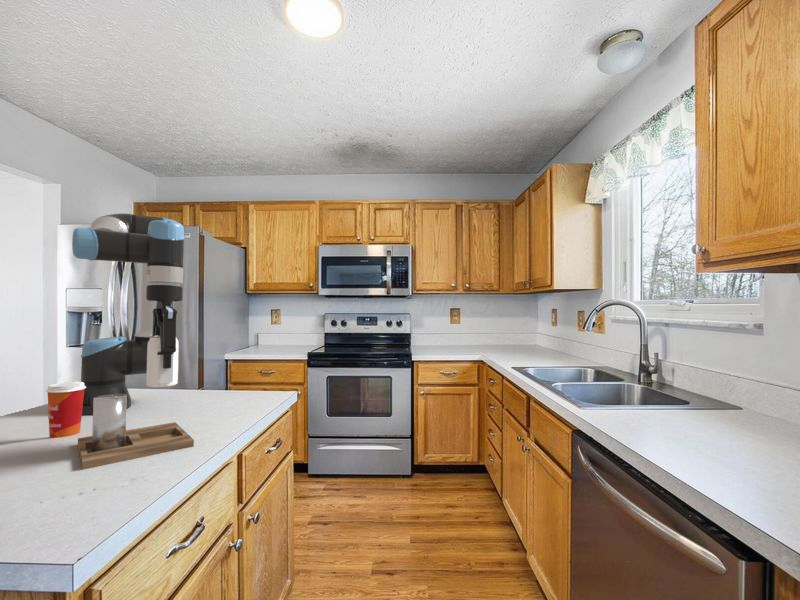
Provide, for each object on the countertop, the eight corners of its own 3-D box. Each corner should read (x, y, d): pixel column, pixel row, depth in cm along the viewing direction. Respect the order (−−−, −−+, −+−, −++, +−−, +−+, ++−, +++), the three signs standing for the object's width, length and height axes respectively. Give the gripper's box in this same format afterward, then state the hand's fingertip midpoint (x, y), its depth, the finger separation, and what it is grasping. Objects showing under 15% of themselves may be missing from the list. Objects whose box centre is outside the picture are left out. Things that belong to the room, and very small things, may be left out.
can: (139, 388, 90) (141, 336, 90) (157, 383, 96) (159, 335, 96) (167, 388, 89) (168, 337, 90) (183, 383, 96) (184, 335, 96)
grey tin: (90, 450, 86) (92, 396, 86) (123, 444, 90) (124, 392, 90) (92, 458, 82) (94, 401, 82) (127, 451, 86) (128, 397, 86)
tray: (77, 451, 89) (77, 438, 89) (175, 433, 103) (175, 422, 103) (82, 477, 76) (82, 461, 76) (193, 452, 89) (193, 439, 89)
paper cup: (45, 438, 97) (47, 383, 98) (84, 432, 102) (86, 380, 102) (42, 447, 91) (44, 388, 92) (84, 440, 96) (86, 384, 96)
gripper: (139, 285, 98) (137, 376, 97) (155, 282, 84) (151, 388, 83) (173, 287, 103) (170, 373, 102) (192, 284, 89) (190, 384, 88)
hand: (162, 379), depth 93 cm, fingers closed on can, 6 cm apart
